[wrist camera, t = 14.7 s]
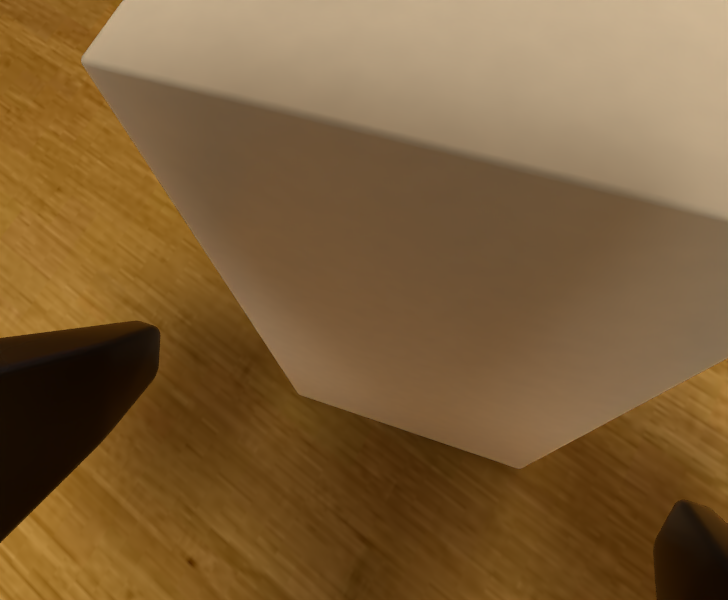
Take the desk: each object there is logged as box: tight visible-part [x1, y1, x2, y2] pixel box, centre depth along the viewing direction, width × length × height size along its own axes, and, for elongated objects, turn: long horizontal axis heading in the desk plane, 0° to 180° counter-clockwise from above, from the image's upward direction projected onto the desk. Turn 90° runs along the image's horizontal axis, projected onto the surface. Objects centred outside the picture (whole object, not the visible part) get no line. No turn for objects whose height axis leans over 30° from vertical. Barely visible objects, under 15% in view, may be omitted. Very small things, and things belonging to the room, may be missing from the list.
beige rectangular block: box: [81, 0, 728, 469], centre depth 11 cm, size 3×7×13 cm, turn 71°
